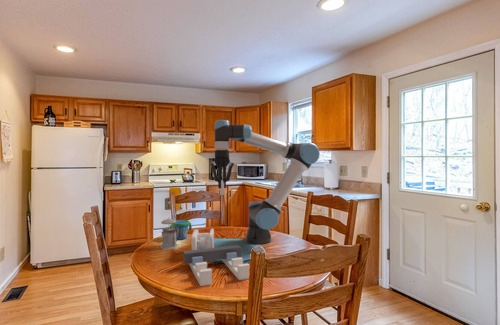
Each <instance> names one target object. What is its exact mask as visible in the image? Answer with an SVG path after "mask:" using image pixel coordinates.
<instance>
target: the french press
mask: <svg viewBox="0 0 500 325" xmlns="http://www.w3.org/2000/svg"><path fill="white" fill-rule="evenodd" d="M166 204H168V205H170V204H172V203H171V201H167V202H166ZM176 221H177V220H175V219H173V218H166V219H163V220H162V221H161V224H162V225H171V224H174V223H176ZM174 227H175V225H174ZM174 227H172V228H170V227H164V228H162V229H161V230H162V231H161V245H160V246H159V249H161V250H166V251H167V250H174V249H177V248H178V247H179V245H178V244H177V239H176V238H177V237H176V231H174V230H176V229H175V228H174ZM176 228H177V227H176ZM173 233H174V234H173ZM177 236H178V229H177Z"/></svg>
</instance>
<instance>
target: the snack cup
mask: <svg viewBox="0 0 500 325" xmlns="http://www.w3.org/2000/svg"><path fill="white" fill-rule="evenodd" d="M175 221H176V223H174V224H169V228H173V227H174V225H175V227H174V228H175V229H176V230H174V231H176V237H177V238H176V240H179V241H180V240H185V239H187V238H188V232H189V231H191V232H192V229H193V226H192V223H191V222H190V221H189V220H187V219H185V220H184V219H183V220H182V219H177V220H175ZM176 227H177V228H176ZM177 229H178V236H177ZM173 235H174V233H173Z"/></svg>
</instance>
